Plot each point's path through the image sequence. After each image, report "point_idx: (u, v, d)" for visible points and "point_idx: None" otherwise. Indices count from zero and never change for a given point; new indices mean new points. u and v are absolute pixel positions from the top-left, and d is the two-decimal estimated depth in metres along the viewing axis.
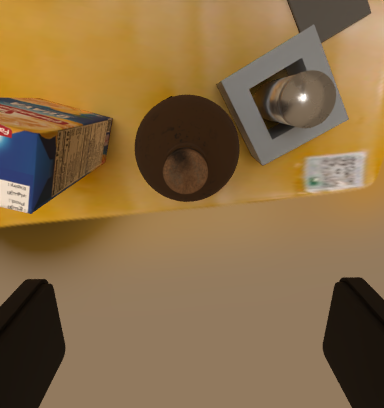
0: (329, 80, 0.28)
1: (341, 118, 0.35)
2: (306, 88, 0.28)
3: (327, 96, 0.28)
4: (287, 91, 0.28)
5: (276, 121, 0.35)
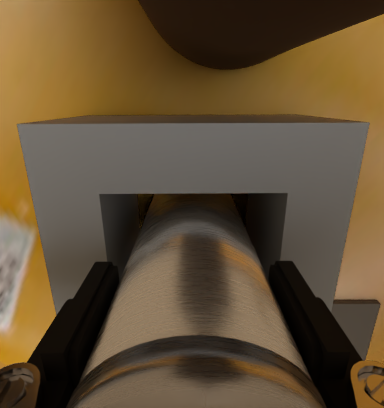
0: None
1: None
2: None
3: None
4: None
5: (150, 231, 0.10)
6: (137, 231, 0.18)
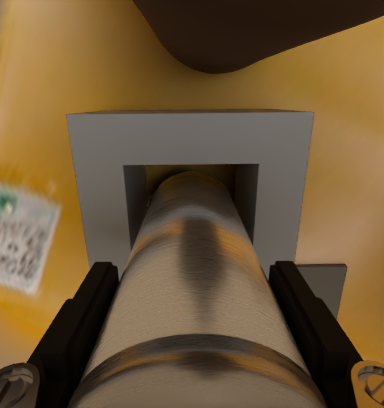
0: None
1: None
2: None
3: None
4: None
5: (150, 230, 0.10)
6: (145, 205, 0.22)
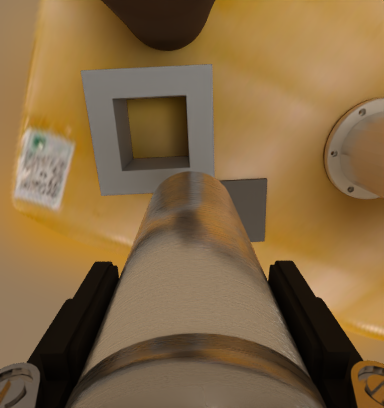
0: None
1: (105, 188, 0.29)
2: None
3: None
4: None
5: (149, 230, 0.10)
6: (129, 139, 0.34)
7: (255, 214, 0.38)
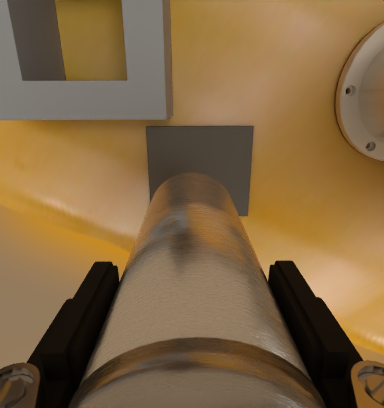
0: None
1: None
2: None
3: None
4: None
5: (150, 232, 0.10)
6: (58, 53, 0.24)
7: (236, 177, 0.28)
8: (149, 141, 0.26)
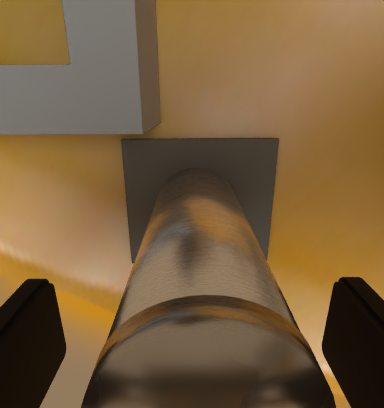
0: None
1: None
2: None
3: None
4: (300, 378, 0.06)
5: (161, 219, 0.11)
6: None
7: (252, 210, 0.19)
8: (126, 160, 0.18)
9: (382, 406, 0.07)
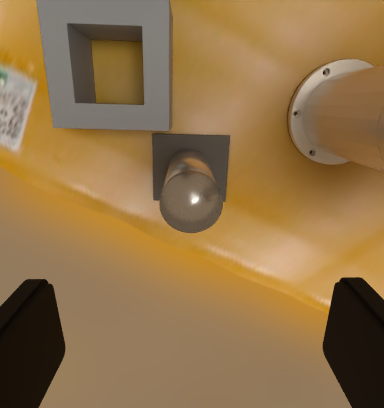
0: (198, 230, 0.25)
1: (57, 120, 0.29)
2: (203, 207, 0.24)
3: (183, 223, 0.25)
4: (213, 187, 0.24)
5: (175, 164, 0.30)
6: (92, 80, 0.33)
7: (217, 172, 0.38)
8: (154, 144, 0.36)
9: (383, 407, 0.07)
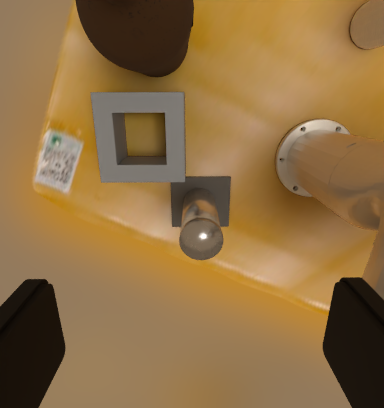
0: (206, 258, 0.36)
1: (104, 177, 0.40)
2: (210, 242, 0.35)
3: (196, 253, 0.36)
4: (216, 230, 0.35)
5: (189, 206, 0.40)
6: (125, 141, 0.44)
7: (221, 204, 0.48)
8: (172, 185, 0.47)
9: (383, 407, 0.07)
